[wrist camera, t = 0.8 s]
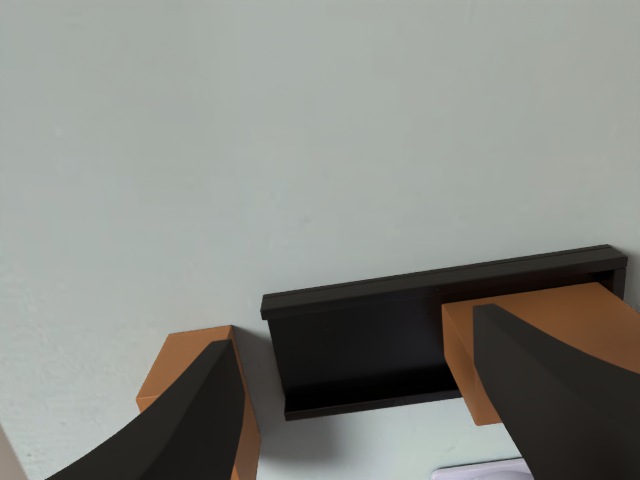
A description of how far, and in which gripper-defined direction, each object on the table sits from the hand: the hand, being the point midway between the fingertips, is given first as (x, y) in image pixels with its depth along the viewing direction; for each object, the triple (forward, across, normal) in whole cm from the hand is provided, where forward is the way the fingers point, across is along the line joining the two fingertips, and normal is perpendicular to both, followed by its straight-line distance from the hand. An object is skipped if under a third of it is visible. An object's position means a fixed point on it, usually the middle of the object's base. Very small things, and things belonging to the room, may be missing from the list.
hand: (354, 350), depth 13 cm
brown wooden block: (+9, -9, +6) cm, 14 cm away
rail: (+10, -5, +6) cm, 12 cm away
